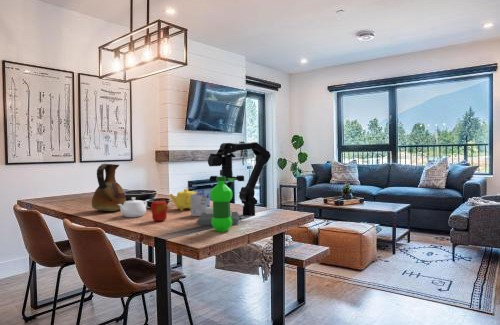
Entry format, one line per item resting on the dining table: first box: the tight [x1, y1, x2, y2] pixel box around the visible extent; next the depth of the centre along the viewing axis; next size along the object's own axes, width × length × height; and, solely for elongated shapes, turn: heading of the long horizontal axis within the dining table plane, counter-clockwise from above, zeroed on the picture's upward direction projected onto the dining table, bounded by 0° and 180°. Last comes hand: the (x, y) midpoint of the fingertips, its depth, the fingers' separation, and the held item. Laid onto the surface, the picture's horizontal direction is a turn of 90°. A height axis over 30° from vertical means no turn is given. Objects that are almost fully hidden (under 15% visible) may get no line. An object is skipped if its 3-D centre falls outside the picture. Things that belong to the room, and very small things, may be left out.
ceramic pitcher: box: [91, 163, 127, 212], centre depth 221 cm, size 20×20×30 cm
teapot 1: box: [117, 196, 148, 218], centre depth 203 cm, size 22×14×11 cm, turn 153°
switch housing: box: [197, 211, 239, 226], centre depth 184 cm, size 20×16×4 cm
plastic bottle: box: [209, 175, 234, 232], centre depth 164 cm, size 10×10×25 cm
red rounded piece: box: [150, 200, 169, 222], centre depth 188 cm, size 9×8×12 cm
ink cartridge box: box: [190, 189, 211, 217], centre depth 202 cm, size 10×6×14 cm, turn 78°
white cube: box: [206, 206, 213, 214], centre depth 189 cm, size 4×4×4 cm
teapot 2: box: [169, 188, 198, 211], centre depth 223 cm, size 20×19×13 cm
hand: (227, 194), depth 194 cm, fingers closed
